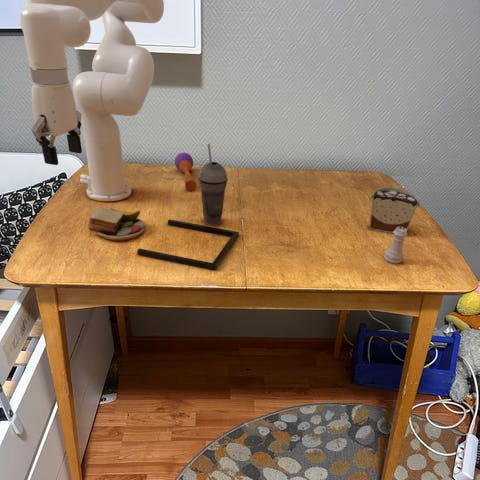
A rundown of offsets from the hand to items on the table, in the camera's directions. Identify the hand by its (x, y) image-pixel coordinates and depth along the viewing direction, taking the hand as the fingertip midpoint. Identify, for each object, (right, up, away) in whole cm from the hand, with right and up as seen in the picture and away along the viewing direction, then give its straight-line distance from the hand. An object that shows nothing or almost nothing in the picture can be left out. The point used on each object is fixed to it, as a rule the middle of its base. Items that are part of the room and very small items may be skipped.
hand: (64, 158), depth 110 cm
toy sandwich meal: (+11, -16, +8) cm, 21 cm away
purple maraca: (+24, +6, +38) cm, 46 cm away
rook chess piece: (+78, -24, +3) cm, 82 cm away
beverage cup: (+34, -12, +15) cm, 39 cm away
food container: (+81, -13, +17) cm, 84 cm away
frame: (+29, -20, +4) cm, 35 cm away
